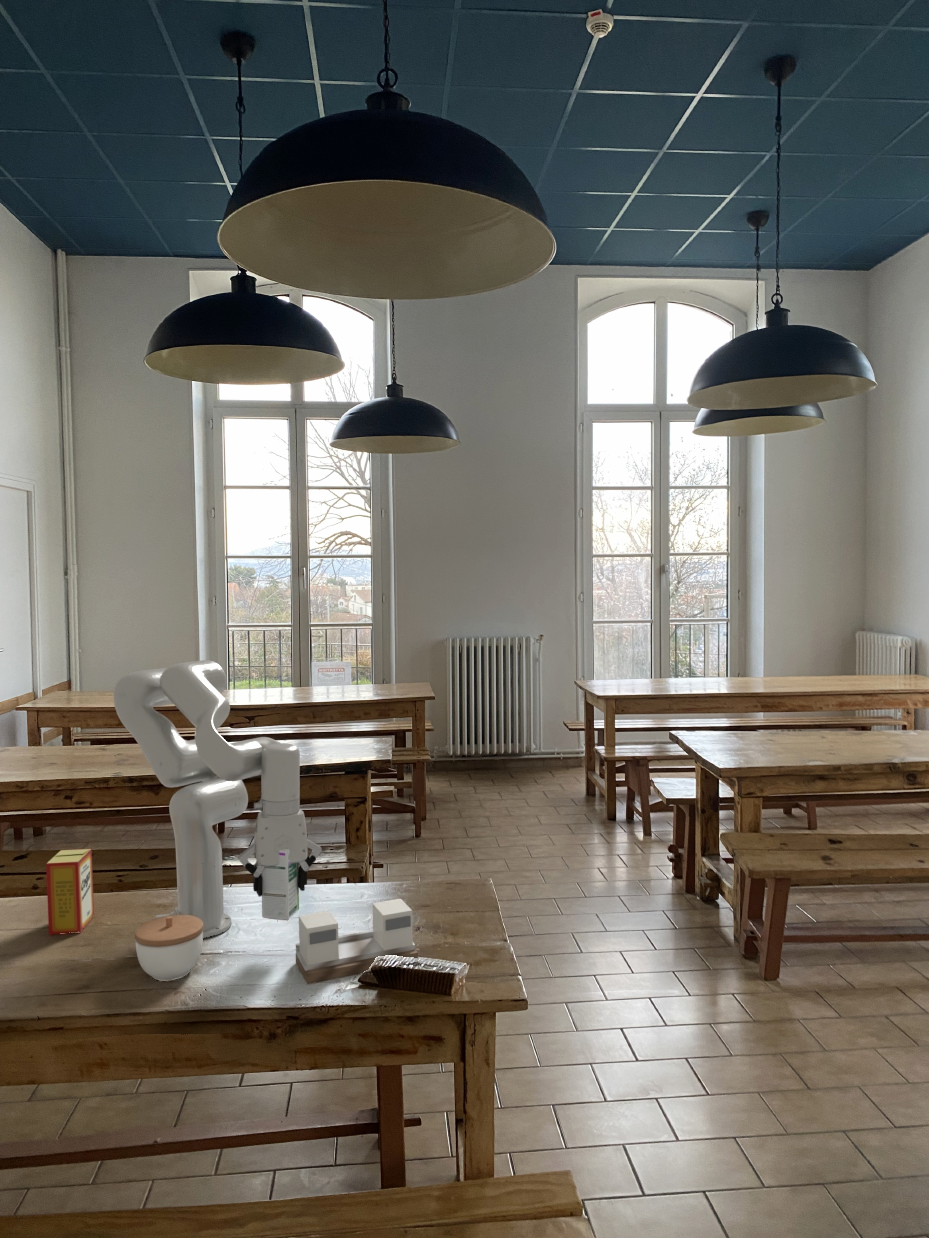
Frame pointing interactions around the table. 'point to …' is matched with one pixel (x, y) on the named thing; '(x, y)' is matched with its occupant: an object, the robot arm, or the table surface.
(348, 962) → the rail board
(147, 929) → the lidded bowl
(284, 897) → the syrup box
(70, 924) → the baking soda box
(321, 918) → the mounted modules
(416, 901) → the table surface
